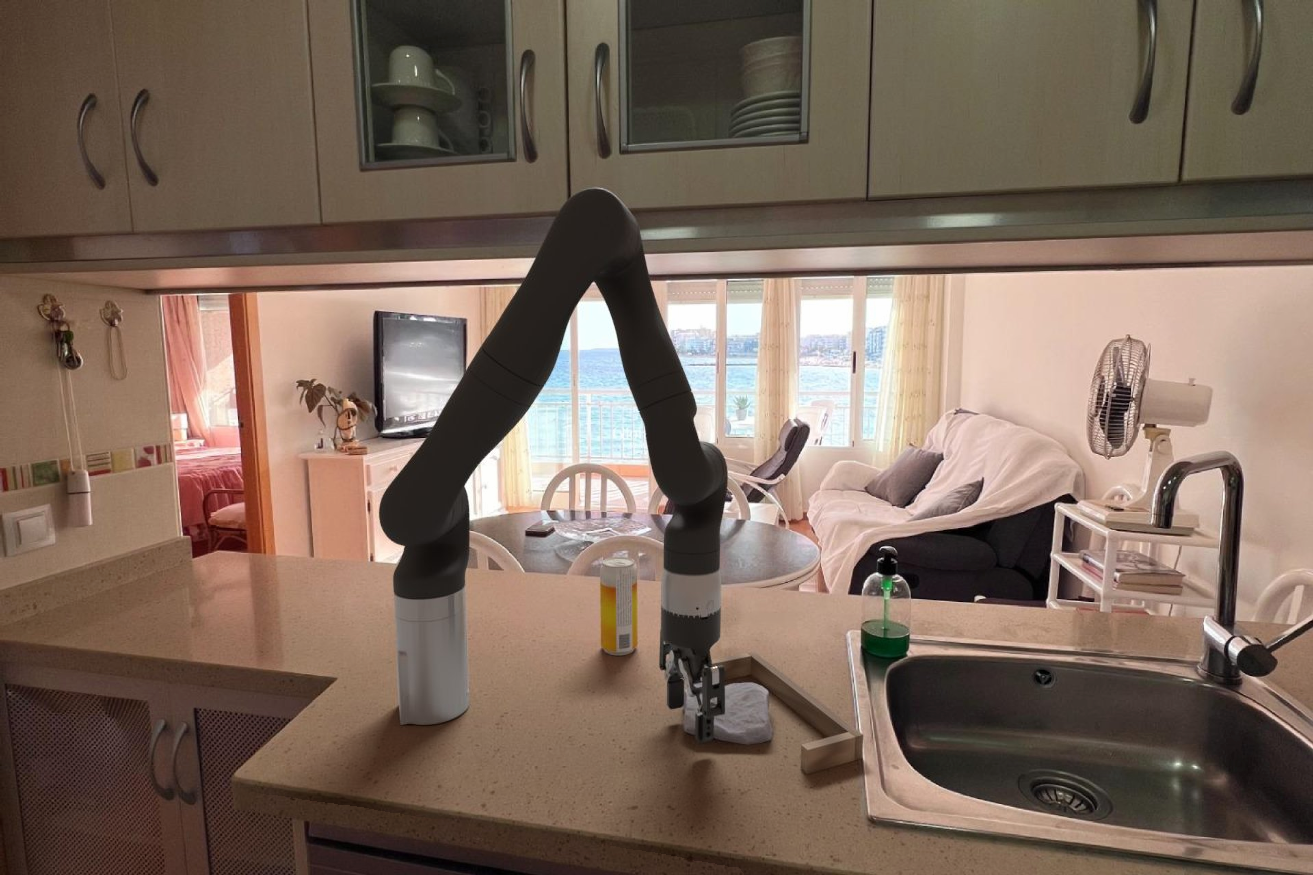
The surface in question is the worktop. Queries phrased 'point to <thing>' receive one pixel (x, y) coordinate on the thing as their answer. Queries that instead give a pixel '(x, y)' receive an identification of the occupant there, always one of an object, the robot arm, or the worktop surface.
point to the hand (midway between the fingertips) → (689, 723)
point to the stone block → (737, 714)
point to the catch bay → (802, 713)
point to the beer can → (618, 605)
